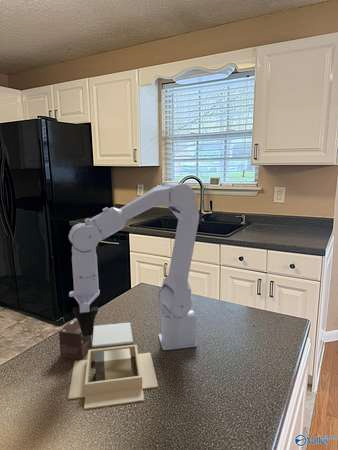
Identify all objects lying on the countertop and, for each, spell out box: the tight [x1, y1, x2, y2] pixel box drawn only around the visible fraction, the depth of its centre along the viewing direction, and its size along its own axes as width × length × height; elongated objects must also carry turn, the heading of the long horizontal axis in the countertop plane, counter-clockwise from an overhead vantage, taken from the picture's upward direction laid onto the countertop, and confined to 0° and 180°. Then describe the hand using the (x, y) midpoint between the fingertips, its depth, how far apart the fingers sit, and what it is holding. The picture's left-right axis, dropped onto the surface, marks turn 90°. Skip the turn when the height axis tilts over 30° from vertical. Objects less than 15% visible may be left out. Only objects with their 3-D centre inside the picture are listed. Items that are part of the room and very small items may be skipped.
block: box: [94, 348, 132, 381], centre depth 74 cm, size 8×4×5 cm, turn 101°
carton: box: [67, 344, 159, 410], centre depth 75 cm, size 19×20×3 cm
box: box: [58, 320, 92, 361], centre depth 83 cm, size 6×6×7 cm
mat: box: [91, 321, 134, 349], centre depth 92 cm, size 11×11×1 cm
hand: (88, 326), depth 78 cm, fingers open, 7 cm apart
